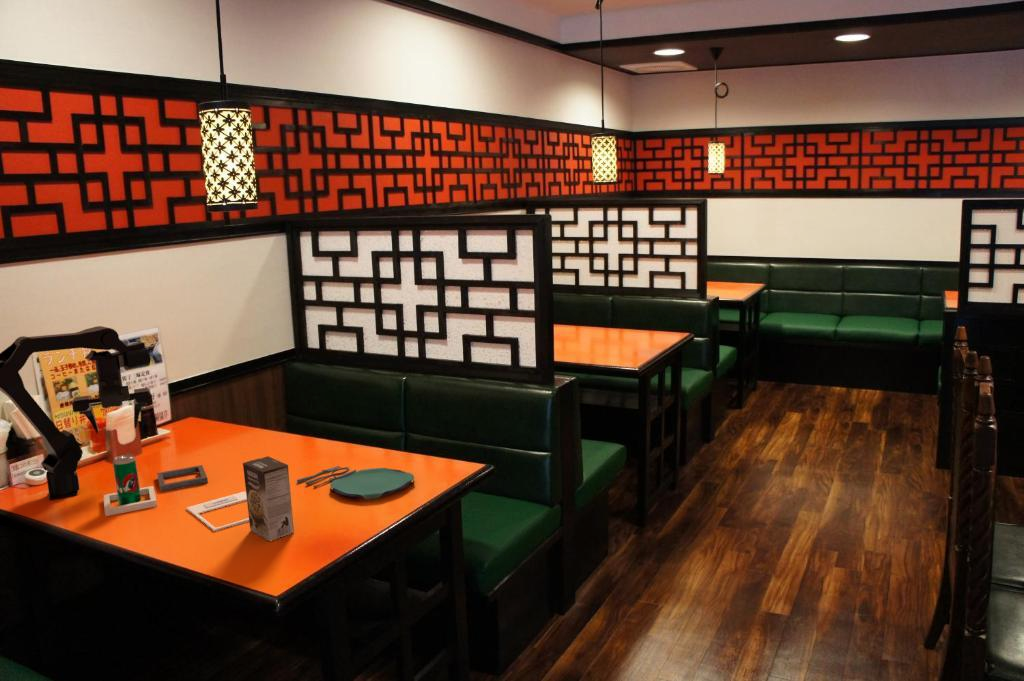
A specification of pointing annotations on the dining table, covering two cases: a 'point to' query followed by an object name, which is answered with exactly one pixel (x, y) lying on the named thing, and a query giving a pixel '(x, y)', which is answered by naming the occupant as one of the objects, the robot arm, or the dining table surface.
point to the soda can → (126, 479)
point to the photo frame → (218, 504)
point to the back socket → (183, 483)
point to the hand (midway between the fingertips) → (116, 430)
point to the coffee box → (268, 498)
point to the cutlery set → (364, 481)
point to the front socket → (132, 506)
